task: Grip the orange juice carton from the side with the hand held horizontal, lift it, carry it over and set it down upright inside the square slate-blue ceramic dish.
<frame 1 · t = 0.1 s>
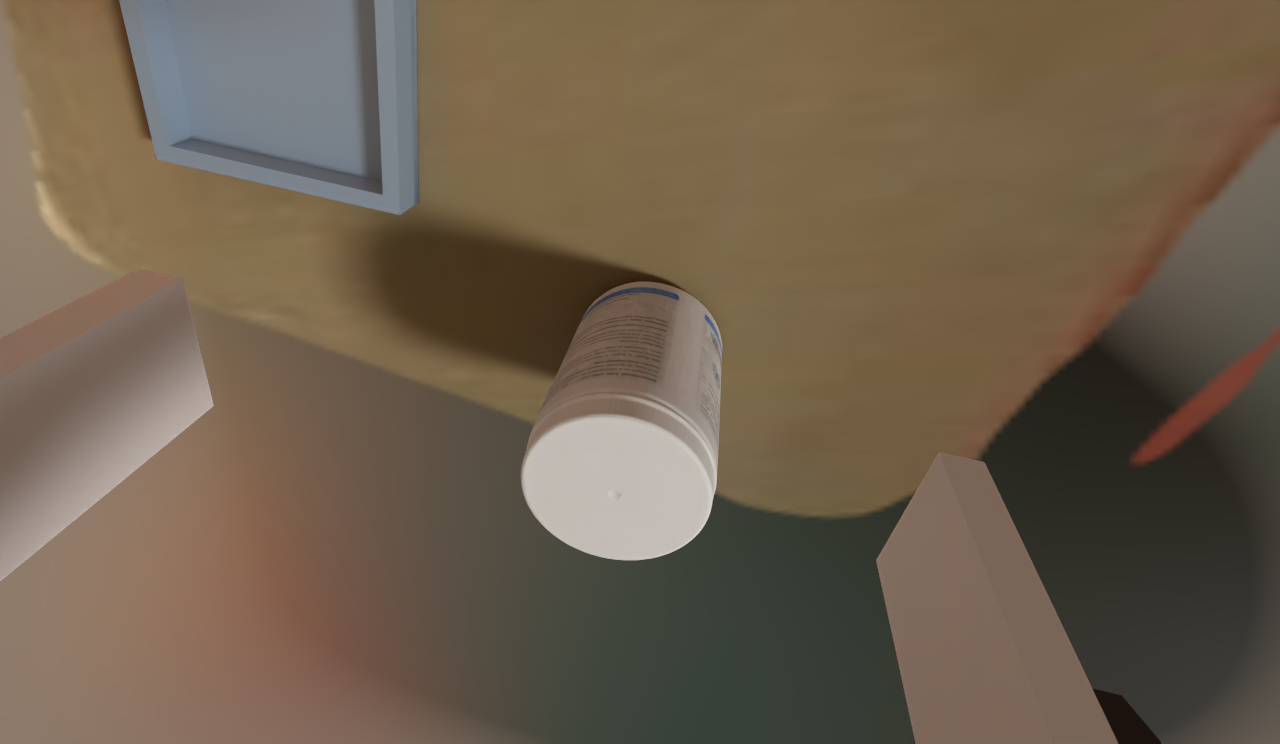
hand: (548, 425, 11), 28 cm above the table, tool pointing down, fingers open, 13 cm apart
dish: (287, 43, 36), on the table
supplement tub: (652, 341, 42), on the table
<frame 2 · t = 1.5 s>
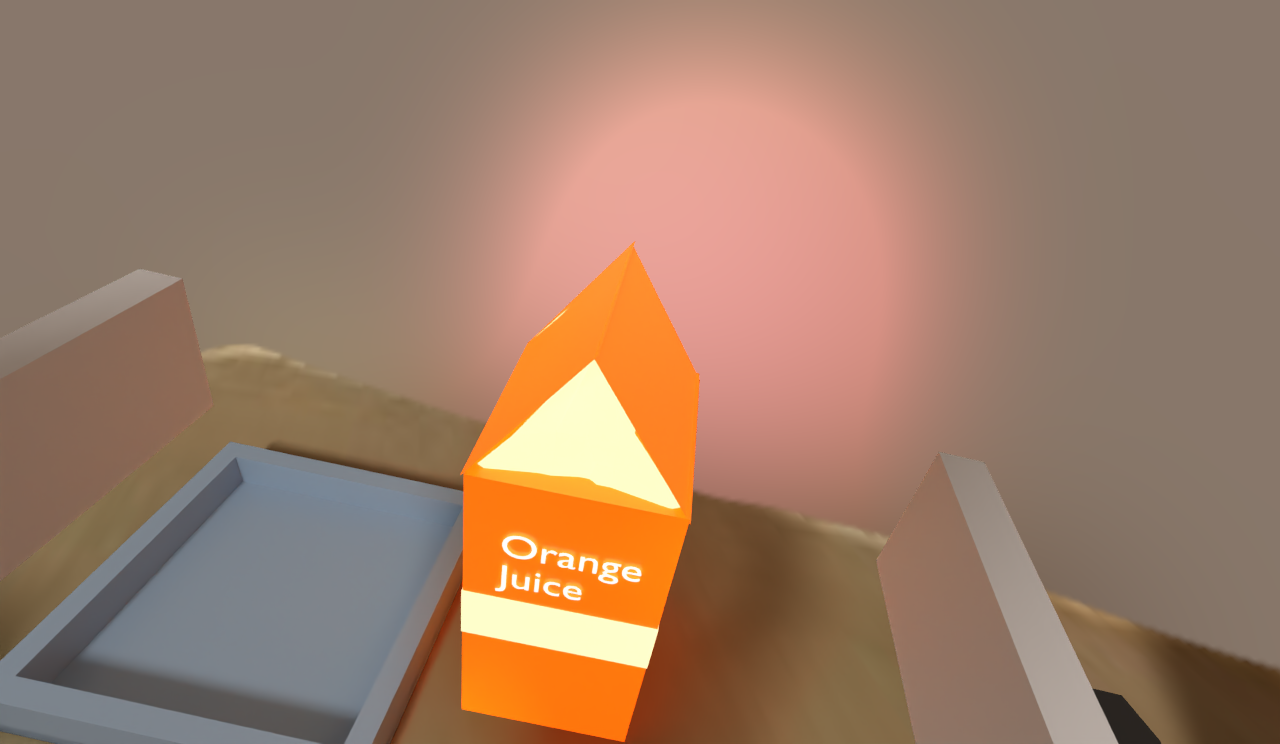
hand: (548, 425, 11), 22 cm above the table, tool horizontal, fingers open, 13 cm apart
dish: (286, 608, 31), on the table
orange juice: (562, 641, 32), on the table
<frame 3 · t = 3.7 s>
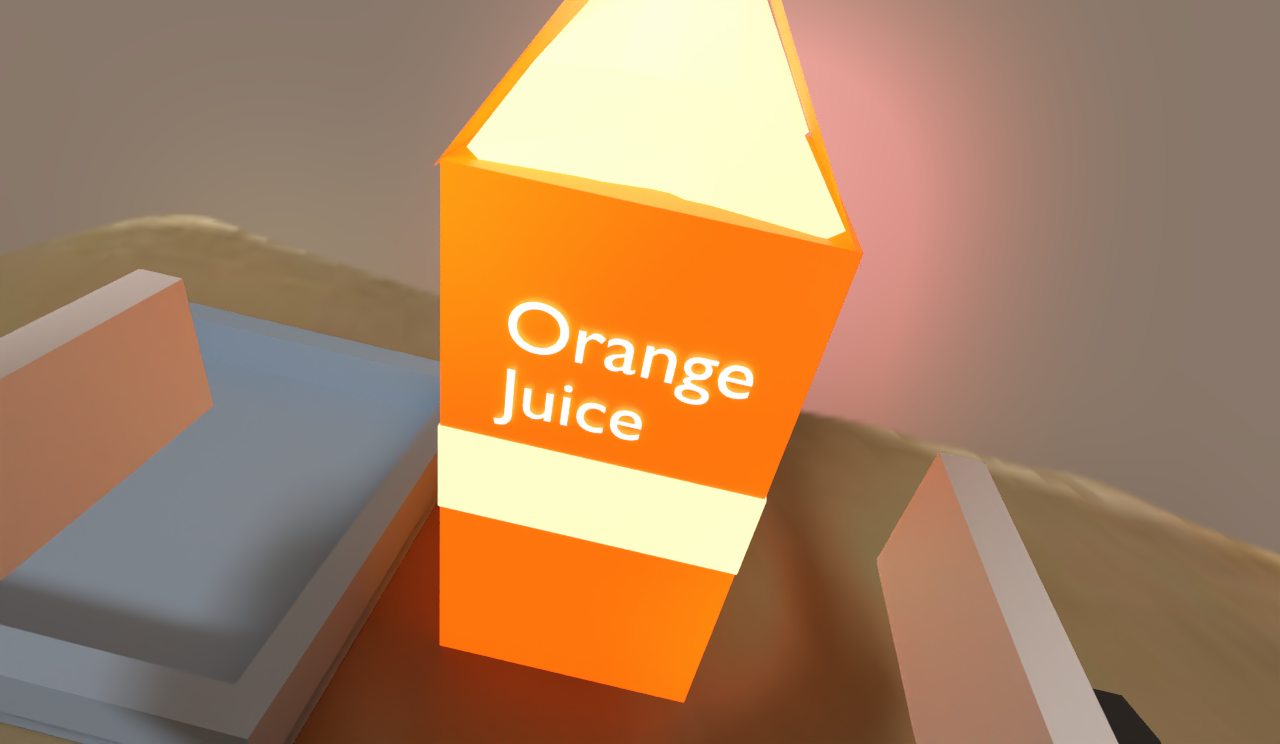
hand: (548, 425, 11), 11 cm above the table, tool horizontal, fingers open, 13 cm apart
dish: (196, 499, 22), on the table
orange juice: (588, 563, 23), on the table
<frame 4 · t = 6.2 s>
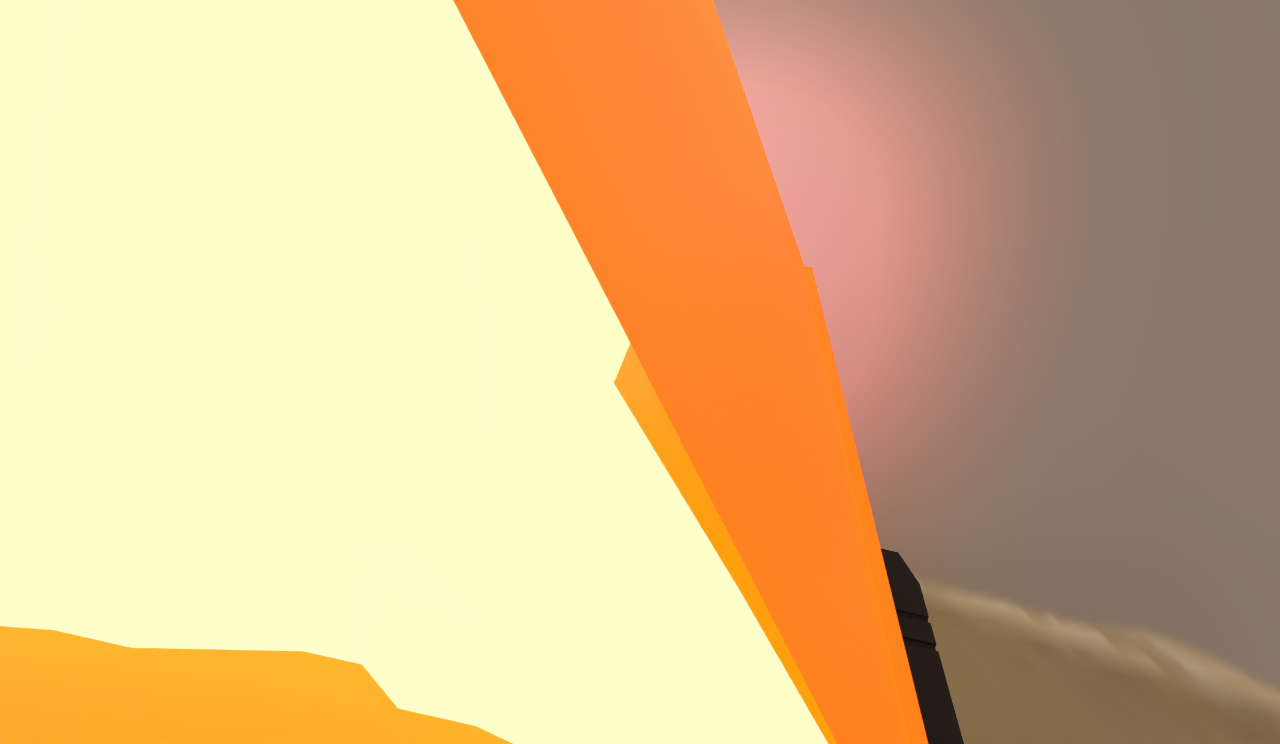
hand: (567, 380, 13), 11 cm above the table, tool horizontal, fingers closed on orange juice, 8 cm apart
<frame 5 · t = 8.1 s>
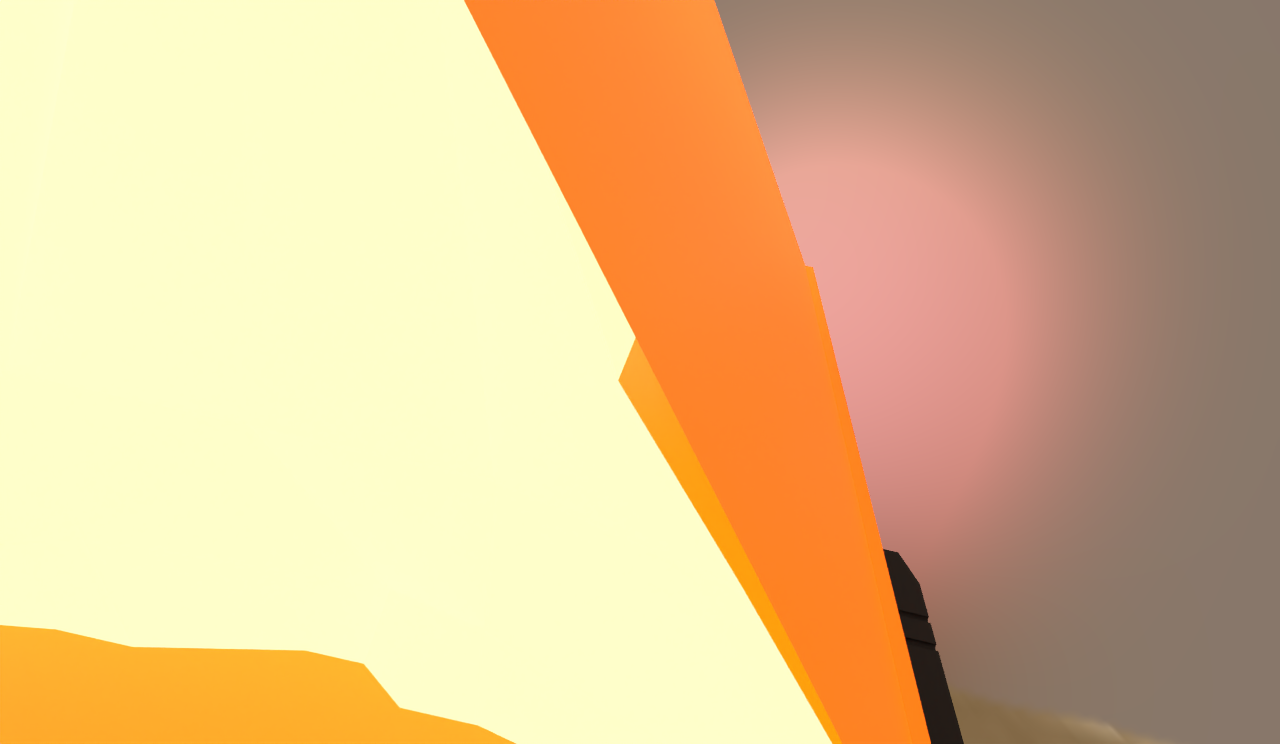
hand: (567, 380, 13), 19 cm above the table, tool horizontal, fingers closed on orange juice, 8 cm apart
when the fingers open (13 cm above the table, at t = 10.0 s): orange juice drops 1 cm, resting on dish.
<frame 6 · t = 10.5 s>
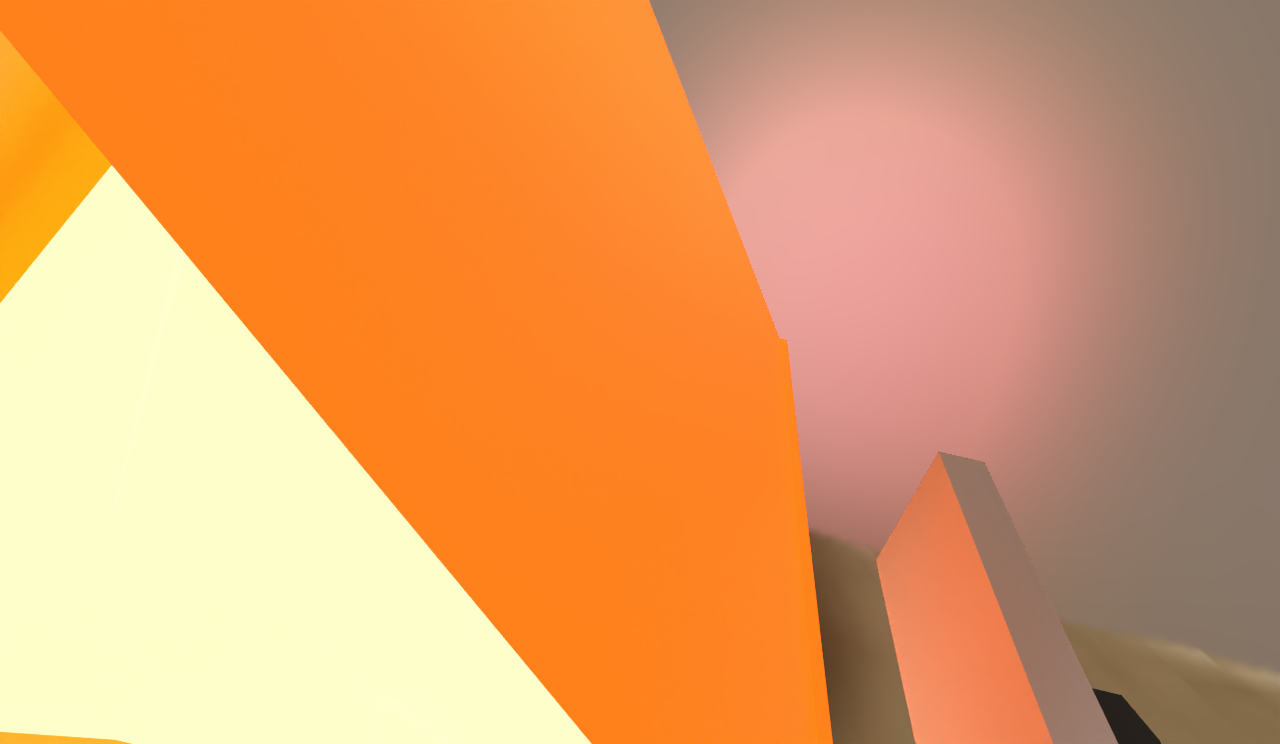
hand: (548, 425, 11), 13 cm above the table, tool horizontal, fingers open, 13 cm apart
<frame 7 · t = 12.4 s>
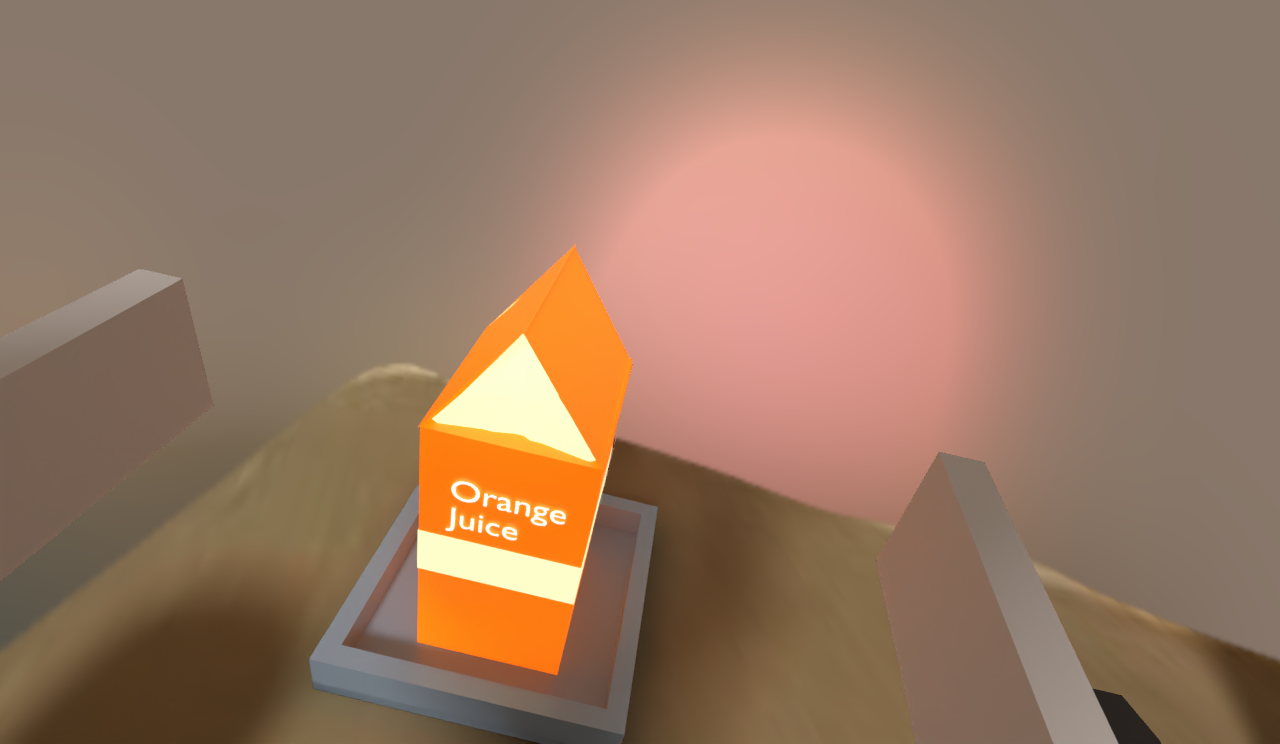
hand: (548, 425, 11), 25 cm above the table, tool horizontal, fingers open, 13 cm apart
dish: (510, 597, 37), on the table
orange juice: (510, 592, 37), resting on dish
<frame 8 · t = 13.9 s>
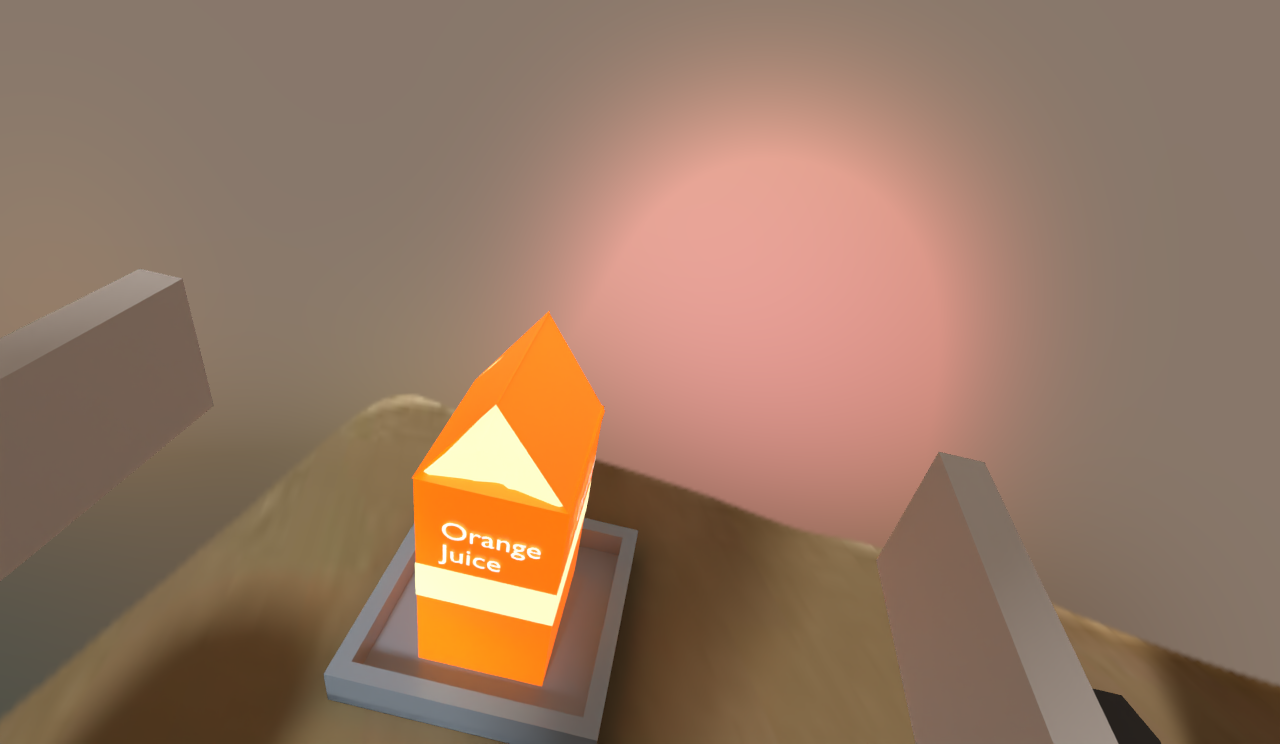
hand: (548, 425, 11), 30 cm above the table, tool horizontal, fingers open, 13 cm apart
dish: (502, 615, 41), on the table
orange juice: (502, 611, 41), resting on dish
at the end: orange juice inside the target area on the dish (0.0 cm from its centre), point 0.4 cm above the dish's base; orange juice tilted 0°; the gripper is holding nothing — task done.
